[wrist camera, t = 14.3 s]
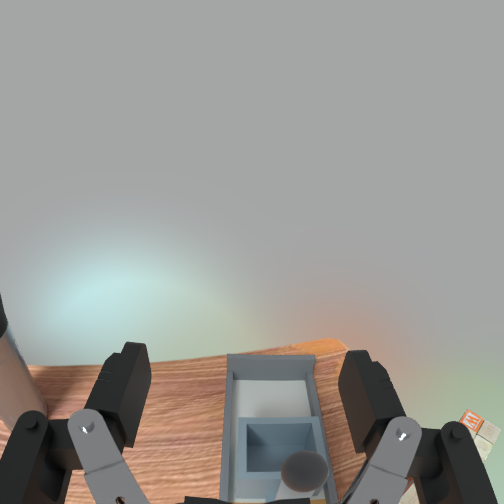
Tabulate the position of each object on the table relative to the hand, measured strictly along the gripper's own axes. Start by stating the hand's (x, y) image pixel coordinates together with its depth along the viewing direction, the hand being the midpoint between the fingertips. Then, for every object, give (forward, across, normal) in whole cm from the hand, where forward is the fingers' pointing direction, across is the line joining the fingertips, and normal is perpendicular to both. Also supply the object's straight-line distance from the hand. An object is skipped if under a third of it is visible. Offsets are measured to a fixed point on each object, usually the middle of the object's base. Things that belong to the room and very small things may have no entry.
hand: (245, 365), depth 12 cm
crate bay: (+17, -5, +32) cm, 36 cm away
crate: (+7, -5, +30) cm, 32 cm away
